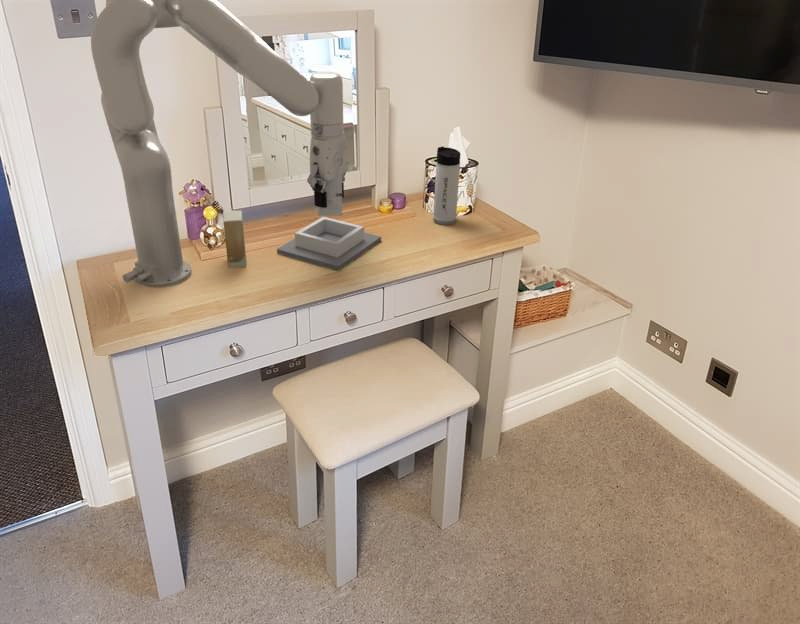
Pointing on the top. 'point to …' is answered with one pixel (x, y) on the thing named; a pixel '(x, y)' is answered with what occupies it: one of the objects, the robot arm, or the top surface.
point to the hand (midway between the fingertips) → (329, 201)
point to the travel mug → (446, 185)
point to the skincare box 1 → (234, 238)
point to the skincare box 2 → (332, 196)
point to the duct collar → (329, 243)
